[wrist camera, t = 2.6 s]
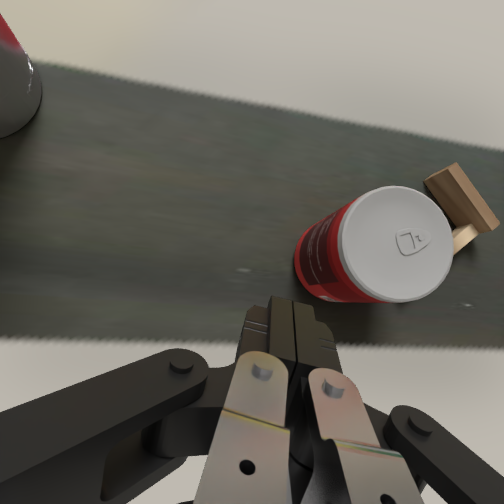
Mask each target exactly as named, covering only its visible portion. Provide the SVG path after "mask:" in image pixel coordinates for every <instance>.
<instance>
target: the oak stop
mask: <svg viewBox="0 0 504 504" xmlns="http://www.w3.org/2000/svg"><path fill="white" fill-rule="evenodd" d="M423 182H424V183H425V184H426V186H427V187H428V189H429V190H430V191H431V193H432V194H433V196H434V197H435V198H436V200H437V201H438V202H439V204H440V205H441V207H442V208H443V209H444V211H445V212H446V214H447V215H448V216H449V218H450V219H451V221H452V222H453V223H454V225H455V226H456V228H455V229H454V230H453V231H452V236H453V244H454V252H453V255H454V254H456V253H457V252H458V251H459V250H460V249H461V248H463V247H464V246H465V245H466V244H467V243H469V242H470V241H471V240H472V239H473V238H474V237H476V236H477V235H478V234H479V233H484V232H488V231H492V230H493V229H495V228H496V227H497V226H498V225H499V224H500V222H499V221H498V219H497V218H496V217H495V215H494V214H493V212H492V211H491V210H490V208H489V207H488V205H487V204H486V203H485V201H484V200H483V199H482V197H481V196H480V194H479V193H478V192H477V190H476V189H475V187H474V186H473V185H472V183H471V182H470V180H469V179H468V178H467V176H466V175H465V173H464V172H463V171H462V169H461V168H460V167H459V165H458V164H457V162H456V163H454V164H452V165H450V166H448V167H446V168H444V169H442V170H440V171H438V172H436V173H434V174H433V175H431V176H429V177H428V178H427V179H426V180H424V181H423Z"/></svg>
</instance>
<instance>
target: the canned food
mask: <svg viewBox="0 0 504 504" xmlns="http://www.w3.org/2000/svg"><path fill="white" fill-rule="evenodd" d="M453 252H454V244H453V236H452V232H451V228H450V225H449V223H448V221H447V218H446V217H445V215H444V214H443V212H442V211H441V209H440V208H439V207H438V206H437V205H436V204H435V203H434V202H433V201H432V200H431V199H430V198H428V197H427V196H426V195H424V194H422V193H420V192H418V191H416V190H414V189H411V188H407V187H403V186H387V187H381V188H378V189H376V190H373V191H370V192H367V193H366V194H364V195H362V196H360V197H358V198H357V199H355V200H353V201H352V202H350V203H349V204H347V205H345V206H344V207H342V208H340V209H339V210H337V211H336V212H334V213H332V214H331V215H329V216H327V217H326V218H324V219H323V220H321V221H319V222H318V223H316V224H315V225H313V226H311V227H310V228H309V229H308V230H307V231H306V232H304V234H303V235H302V237H301V238H300V239H299V242H298V244H297V246H296V250H295V256H294V264H295V270H296V273H297V276H298V278H299V280H300V281H301V283H302V284H303V286H304V287H305V288H306V289H307V290H308V291H309V292H310V293H311V294H313V295H314V296H316V297H318V298H320V299H322V300H325V301H330V302H362V303H403V302H408V301H413V300H417V299H420V298H422V297H424V296H427V295H428V294H430V293H431V292H432V291H434V290H435V289H436V288H437V287H438V286H439V285H440V284H441V283H442V282H443V280H444V279H445V277H446V275H447V274H448V272H449V269H450V266H451V263H452V259H453Z"/></svg>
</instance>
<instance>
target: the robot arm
mask: <svg viewBox="0 0 504 504" xmlns="http://www.w3.org/2000/svg"><path fill="white" fill-rule="evenodd" d="M41 94H42V91H41V81H40V77H39V74H38V72H37V70H36V68H35V66H34V65H33V63H32V61H31V60H30V58H29V57H28V54H27V53H26V51H25V50H24V48H23V47H22V46H21V44H20V43H19V42H18V40H17V39H16V37H15V35H14V34H13V32H12V31H11V29H10V27H9V26H8V24H7V23H6V21H5V20H4V18H3V17H2V15H1V14H0V138H2V137H5V136H8V135H10V134H12V133H14V132H16V131H18V130H19V129H21V128H22V127H23V126H24V125H26V124H27V123H28V122H29V121H30V119H31V118H32V117H33V116H34V114H35V112H36V110H37V108H38V106H39V104H40V99H41ZM334 342H335V341H334V337H333V333H332V332H331V330H330V329H329V328H328V327H327V325H326V324H325V323H323V322H319V321H316V320H315V314H314V309H313V306H311V305H307V304H303V303H299V302H295V301H291V300H287V299H283V298H279V297H275V296H271V298H270V300H269V304H268V307H267V308H264V307H260V306H256V305H254V306H253V307H252V308H250V309H249V310H248V311H247V314H246V318H245V321H244V325H243V329H242V332H241V336H240V340H239V343H238V347H237V353H236V358H235V362H234V363H233V364H231V365H229V366H226V367H221V368H209V367H208V364H207V362H206V361H205V359H204V358H203V357H202V356H200V355H199V354H197V353H195V352H193V351H190V350H187V349H179V348H176V349H168V350H165V351H162V352H160V353H157V354H154V355H152V356H149V357H147V358H144V359H141V360H138V361H136V362H133V363H130V364H128V365H125V366H122V367H120V368H117V369H114V370H112V371H109V372H106V373H104V374H101V375H98V376H96V377H93V378H90V379H88V380H85V381H82V382H80V383H77V384H74V385H72V386H69V387H66V388H64V389H61V390H59V391H56V392H53V393H51V394H48V395H45V396H42V397H40V398H37V399H34V400H32V401H29V402H26V403H24V404H21V405H18V406H16V407H13V408H11V409H8V410H5V411H2V412H0V504H126V503H128V502H129V501H131V500H132V499H134V498H135V497H137V496H138V495H139V494H141V493H142V492H144V491H145V490H147V489H148V488H149V487H151V486H153V485H154V484H155V483H157V482H158V481H160V480H161V479H163V478H164V477H165V476H167V475H168V474H170V473H171V472H173V471H174V470H176V469H177V468H179V467H180V466H181V465H182V464H183V463H184V462H185V461H186V459H187V457H188V456H199V455H208V457H207V460H206V463H205V467H204V470H203V473H202V476H201V480H200V483H199V486H198V490H197V493H196V496H195V499H194V500H192V501H187V502H181V503H179V504H424V502H423V500H422V498H421V493H422V491H423V489H424V487H425V486H426V484H428V485H429V486H430V487H431V488H433V489H434V490H435V491H436V492H437V493H438V494H439V495H440V496H441V497H442V498H443V499H444V500H445V501H446V502H447V503H448V504H504V477H503V476H502V475H500V474H499V473H498V472H496V470H494V469H493V468H492V467H491V466H490V465H488V464H487V463H486V462H485V461H483V460H482V459H481V458H480V457H479V456H477V455H476V454H475V453H474V452H473V451H471V450H470V449H469V448H468V447H467V446H465V445H464V444H463V443H462V442H460V441H459V440H458V439H457V438H456V437H455V436H453V435H452V434H451V433H450V432H448V431H447V430H446V429H445V428H444V427H442V426H441V425H440V424H439V423H438V422H436V421H435V420H434V419H433V418H431V417H430V416H429V415H427V414H426V413H424V412H422V411H420V410H418V409H416V408H413V407H410V406H405V405H399V406H396V407H394V408H393V409H392V411H391V413H390V415H387V414H385V413H382V412H381V411H378V410H376V409H374V408H372V407H370V406H368V405H366V404H365V403H363V401H362V398H361V396H360V393H359V391H358V389H357V387H356V385H355V384H354V383H353V382H352V381H351V380H350V379H349V378H348V377H346V376H345V375H343V372H342V369H341V365H340V361H339V357H338V353H337V351H336V350H337V349H336V345H335V344H334Z"/></svg>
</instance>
